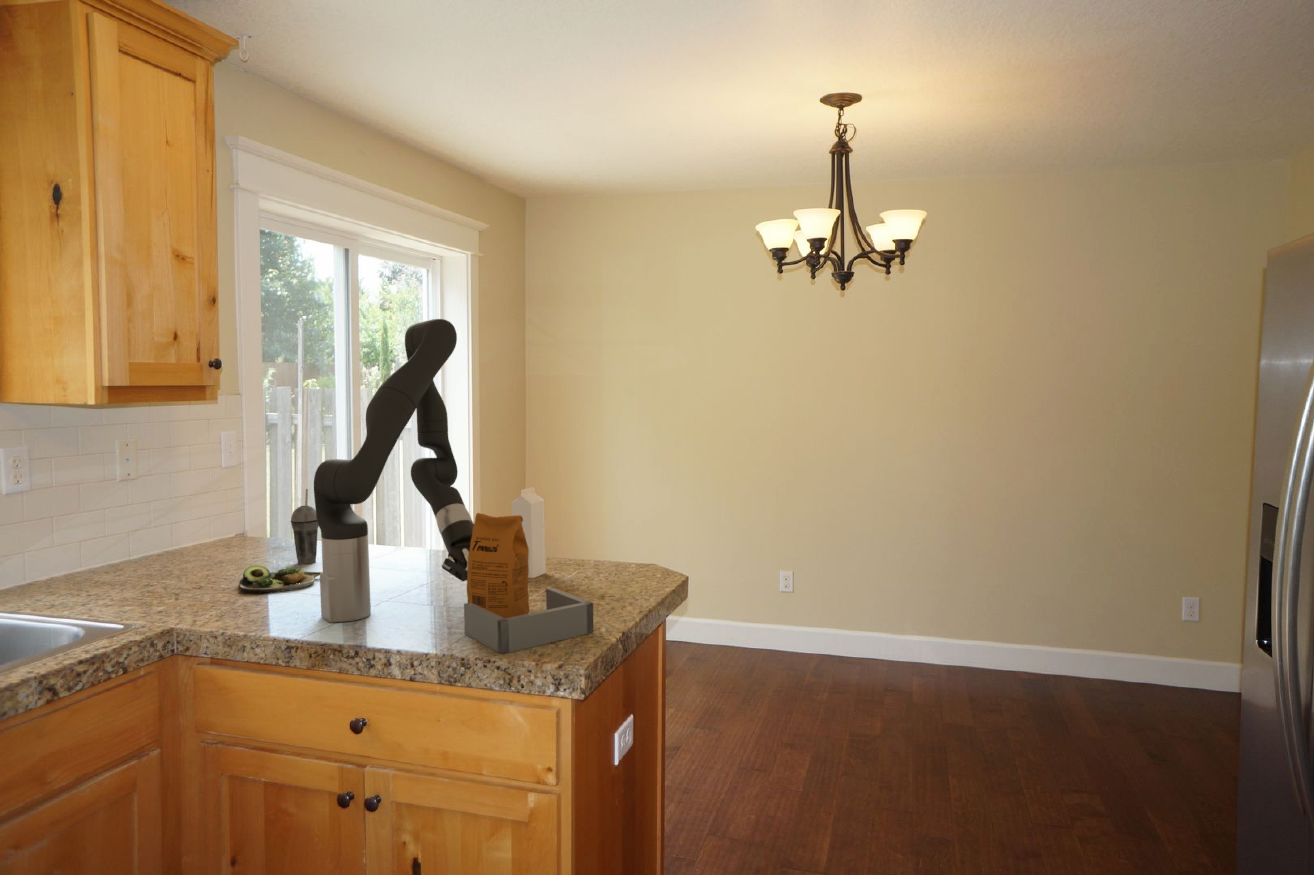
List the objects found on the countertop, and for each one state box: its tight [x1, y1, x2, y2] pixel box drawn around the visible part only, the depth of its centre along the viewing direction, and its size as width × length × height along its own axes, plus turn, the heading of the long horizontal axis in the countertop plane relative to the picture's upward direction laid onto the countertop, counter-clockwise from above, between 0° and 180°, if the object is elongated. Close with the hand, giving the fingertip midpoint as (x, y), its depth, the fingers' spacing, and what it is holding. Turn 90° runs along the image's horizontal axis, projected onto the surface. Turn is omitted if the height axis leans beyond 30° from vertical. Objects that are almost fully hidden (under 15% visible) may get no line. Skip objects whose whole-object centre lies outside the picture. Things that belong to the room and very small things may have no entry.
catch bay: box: [463, 587, 594, 655], centre depth 168 cm, size 20×16×6 cm
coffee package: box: [466, 512, 530, 618], centre depth 177 cm, size 10×12×22 cm
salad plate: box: [238, 564, 321, 595], centre depth 209 cm, size 19×18×5 cm
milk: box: [510, 486, 547, 579], centre depth 215 cm, size 6×6×22 cm
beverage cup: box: [290, 488, 319, 565], centre depth 231 cm, size 7×7×20 cm
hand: (483, 593), depth 183 cm, fingers closed
